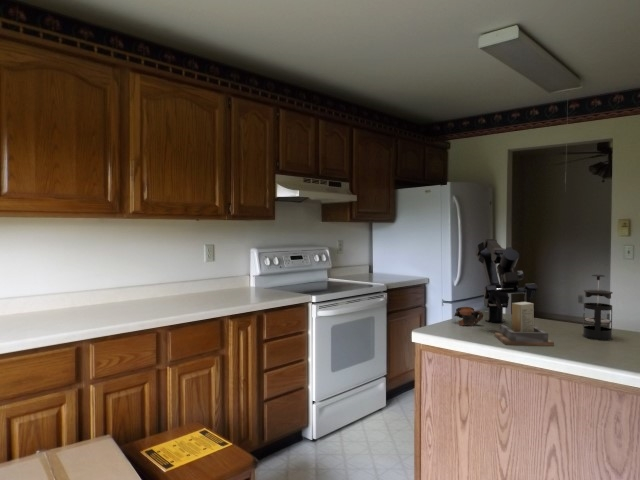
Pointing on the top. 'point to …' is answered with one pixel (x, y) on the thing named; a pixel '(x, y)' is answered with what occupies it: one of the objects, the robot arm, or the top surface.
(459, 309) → the pottery mug
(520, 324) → the skincare box
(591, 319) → the french press
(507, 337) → the rail holder
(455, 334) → the top surface
